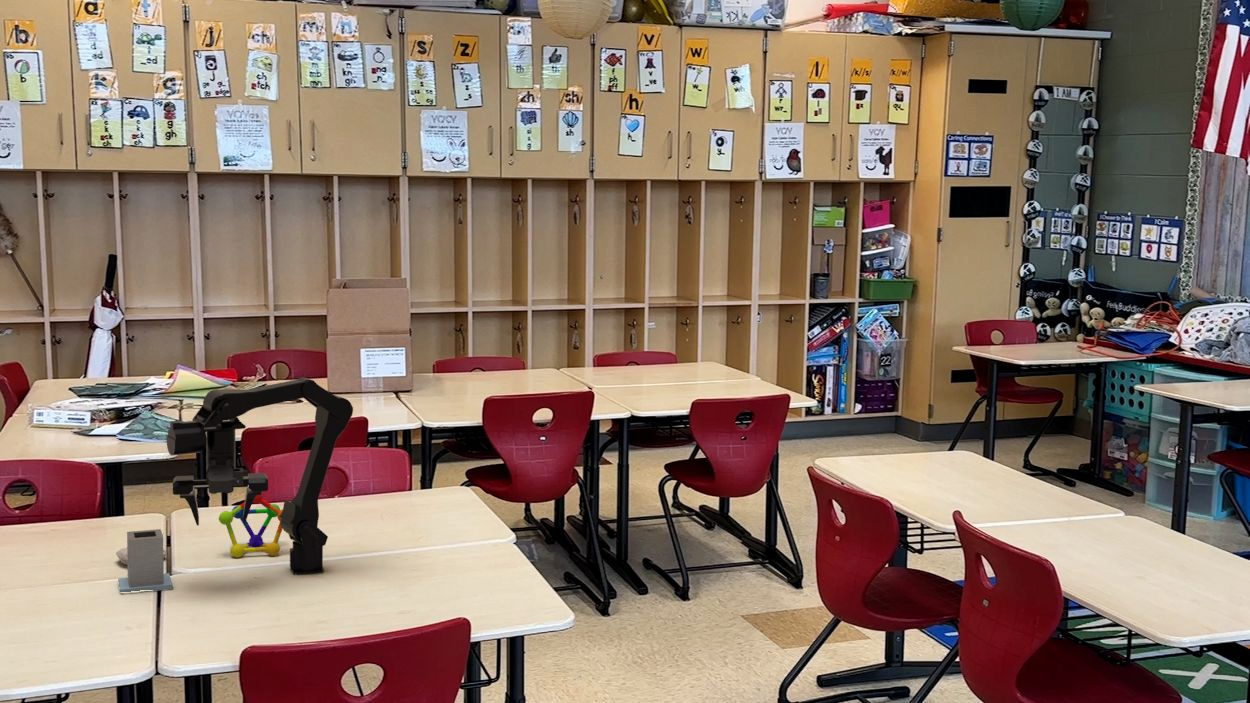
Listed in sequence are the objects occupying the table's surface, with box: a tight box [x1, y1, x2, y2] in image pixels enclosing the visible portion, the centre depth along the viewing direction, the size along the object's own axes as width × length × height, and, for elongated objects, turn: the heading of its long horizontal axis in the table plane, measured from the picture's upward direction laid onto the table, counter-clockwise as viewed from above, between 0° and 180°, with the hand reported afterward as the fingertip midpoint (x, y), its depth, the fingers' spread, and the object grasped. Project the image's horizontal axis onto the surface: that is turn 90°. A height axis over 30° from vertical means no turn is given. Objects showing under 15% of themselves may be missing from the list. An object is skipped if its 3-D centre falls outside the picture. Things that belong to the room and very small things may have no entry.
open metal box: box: [126, 528, 165, 588], centre depth 243 cm, size 7×7×10 cm
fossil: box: [116, 547, 167, 566], centre depth 259 cm, size 12×4×10 cm
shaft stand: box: [117, 572, 174, 593], centre depth 243 cm, size 10×8×4 cm
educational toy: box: [218, 493, 283, 558], centre depth 269 cm, size 16×13×15 cm
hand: (221, 523), depth 245 cm, fingers open, 9 cm apart
